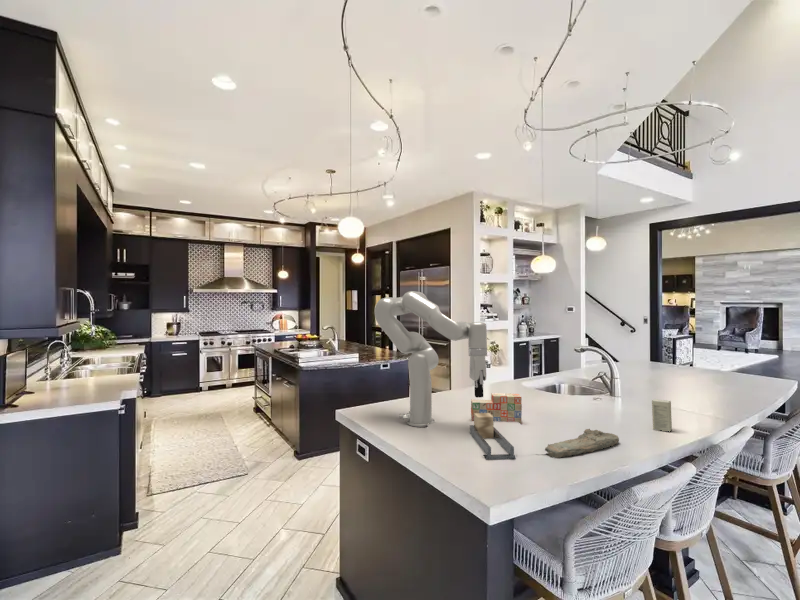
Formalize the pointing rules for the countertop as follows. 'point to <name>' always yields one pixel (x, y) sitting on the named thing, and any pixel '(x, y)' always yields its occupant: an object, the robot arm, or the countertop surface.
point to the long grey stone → (582, 444)
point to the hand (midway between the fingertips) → (479, 396)
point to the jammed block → (484, 424)
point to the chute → (487, 448)
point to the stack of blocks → (499, 407)
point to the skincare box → (661, 415)
